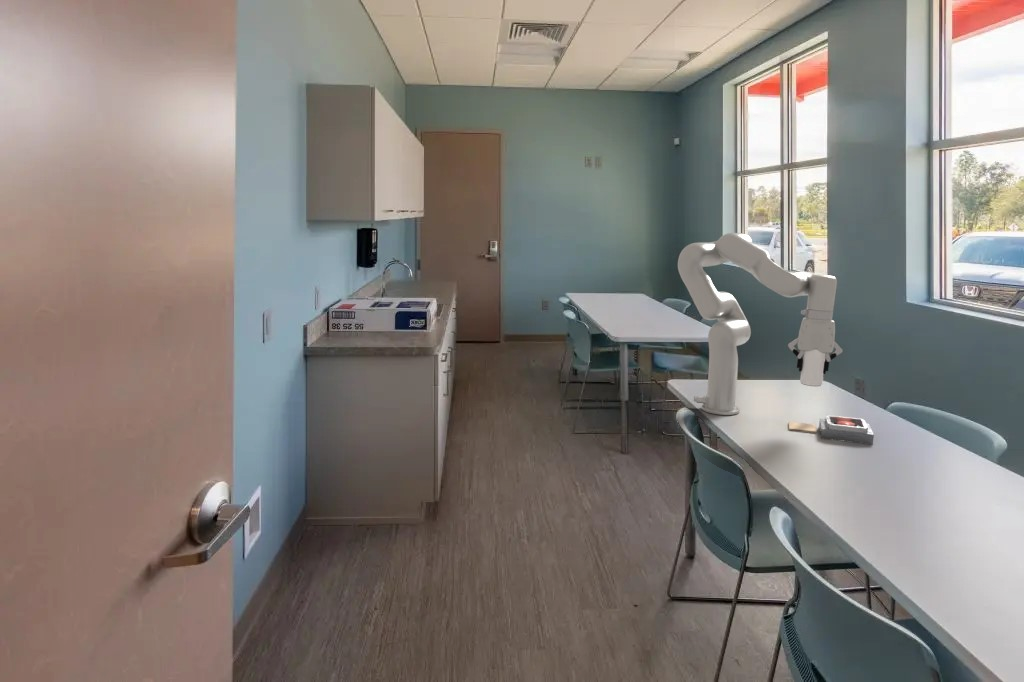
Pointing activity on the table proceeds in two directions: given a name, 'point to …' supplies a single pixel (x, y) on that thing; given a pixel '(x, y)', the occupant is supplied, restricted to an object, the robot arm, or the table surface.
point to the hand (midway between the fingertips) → (811, 371)
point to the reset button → (845, 423)
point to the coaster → (802, 427)
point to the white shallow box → (846, 429)
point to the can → (812, 368)
